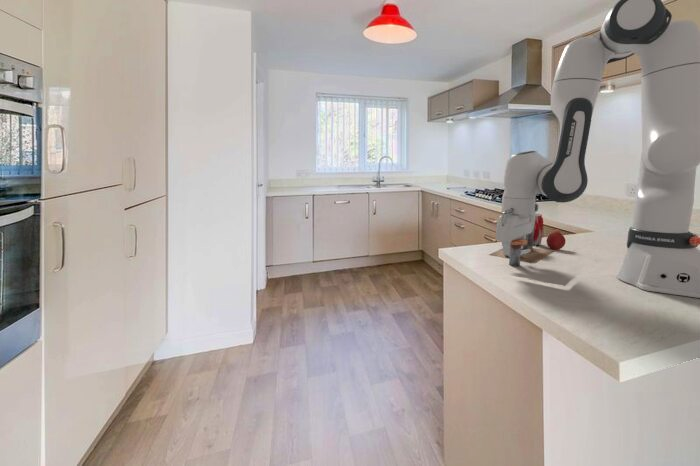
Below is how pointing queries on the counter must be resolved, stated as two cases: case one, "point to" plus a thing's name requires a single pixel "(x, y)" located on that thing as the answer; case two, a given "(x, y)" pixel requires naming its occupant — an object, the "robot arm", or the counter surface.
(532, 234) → the socket
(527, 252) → the keeper
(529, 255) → the board
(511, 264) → the pin
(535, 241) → the soda can
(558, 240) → the onion
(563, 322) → the counter surface
